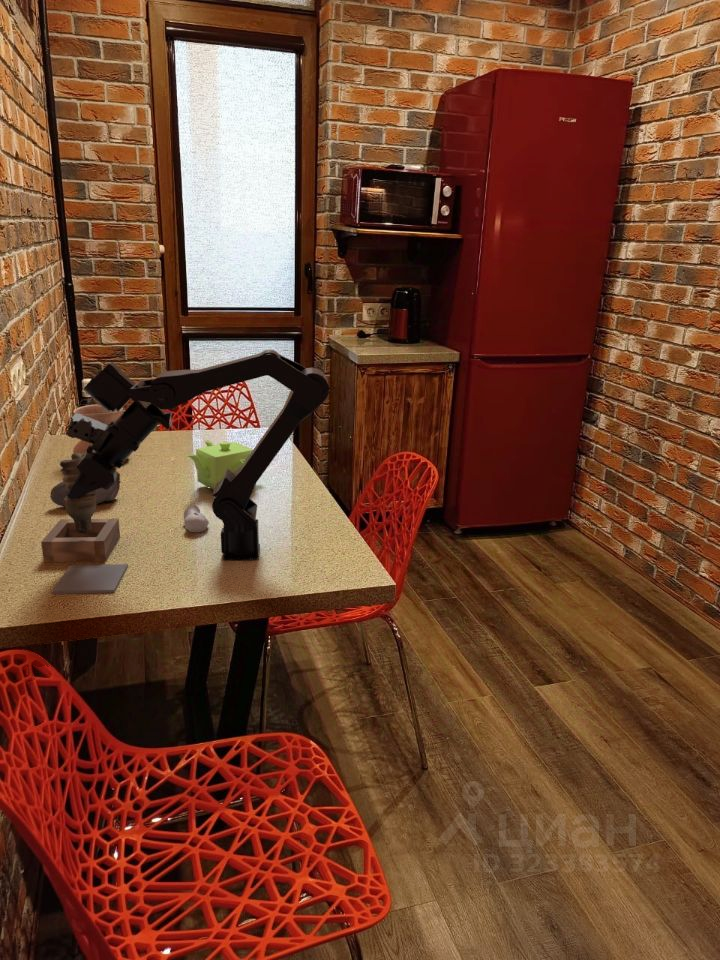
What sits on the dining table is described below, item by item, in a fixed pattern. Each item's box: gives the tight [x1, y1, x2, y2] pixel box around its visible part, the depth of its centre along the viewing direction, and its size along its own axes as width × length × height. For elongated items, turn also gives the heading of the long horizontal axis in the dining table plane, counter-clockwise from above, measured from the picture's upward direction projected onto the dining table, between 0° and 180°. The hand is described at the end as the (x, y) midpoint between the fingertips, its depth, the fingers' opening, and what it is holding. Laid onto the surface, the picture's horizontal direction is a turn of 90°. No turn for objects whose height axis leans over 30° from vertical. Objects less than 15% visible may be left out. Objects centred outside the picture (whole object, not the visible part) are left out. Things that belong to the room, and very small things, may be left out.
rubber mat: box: [51, 563, 129, 595], centre depth 120 cm, size 10×10×1 cm
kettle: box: [185, 439, 254, 491], centre depth 166 cm, size 15×14×11 cm
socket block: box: [40, 518, 121, 563], centre depth 131 cm, size 11×11×4 cm
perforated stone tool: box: [49, 470, 121, 507], centre depth 154 cm, size 15×5×7 cm, turn 116°
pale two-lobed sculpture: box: [183, 504, 210, 533], centre depth 143 cm, size 4×8×5 cm
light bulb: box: [59, 453, 97, 533], centre depth 124 cm, size 6×6×15 cm
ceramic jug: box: [72, 404, 124, 454], centre depth 183 cm, size 18×14×14 cm
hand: (72, 492), depth 123 cm, fingers closed on light bulb, 5 cm apart
